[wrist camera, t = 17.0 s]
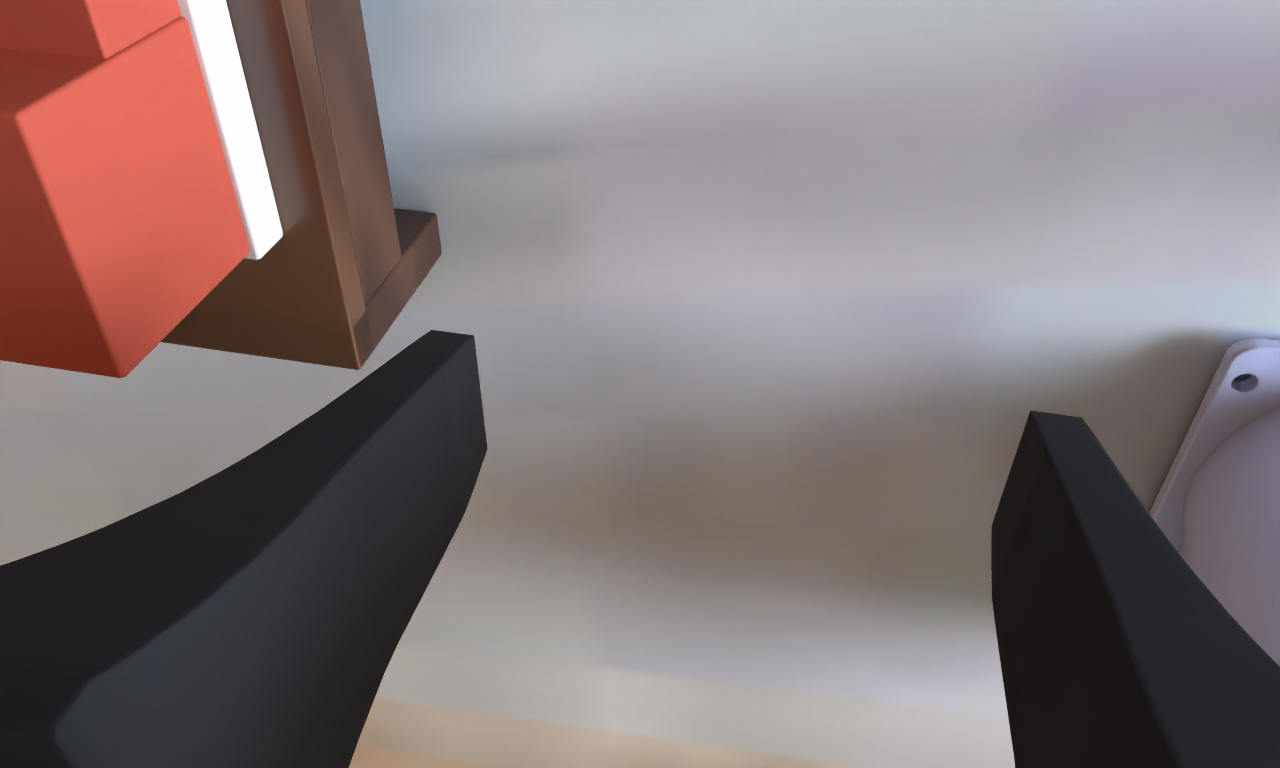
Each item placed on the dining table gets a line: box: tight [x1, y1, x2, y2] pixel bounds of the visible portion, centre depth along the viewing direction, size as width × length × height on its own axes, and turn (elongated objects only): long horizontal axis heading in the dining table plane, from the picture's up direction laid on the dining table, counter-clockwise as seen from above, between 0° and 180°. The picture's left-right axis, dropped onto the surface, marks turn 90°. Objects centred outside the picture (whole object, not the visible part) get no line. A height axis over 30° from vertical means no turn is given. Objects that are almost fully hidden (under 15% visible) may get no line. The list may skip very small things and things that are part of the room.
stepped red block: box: [0, 0, 283, 378], centre depth 16 cm, size 7×4×5 cm, turn 179°
